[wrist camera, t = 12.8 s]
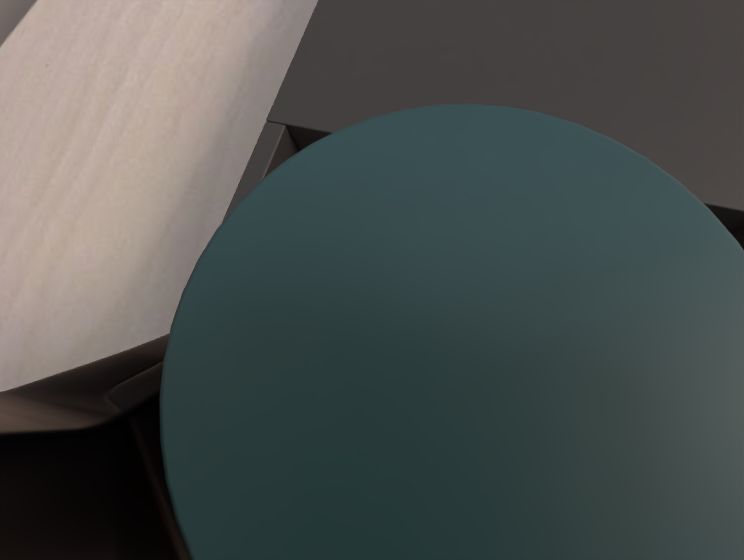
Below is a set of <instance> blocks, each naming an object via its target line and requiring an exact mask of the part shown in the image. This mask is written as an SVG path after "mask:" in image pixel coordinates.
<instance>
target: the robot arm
mask: <svg viewBox="0 0 744 560" xmlns="http://www.w3.org/2000/svg"><path fill="white" fill-rule="evenodd" d="M168 338H169V334H167V335H165V336H162V337H160V338H157V339H155V340H152V341H150V342H147V343H145V344H142V345H139V346H137V347H134V348H131V349H129V350H126V351H123V352H120V353H118V354H115V355H112V356H109V357H106V358H103V359H100V360H97V361H95V362H92V363H89V364H86V365H83V366H80V367H77V368H74V369H71V370H68V371H65V372H62V373H59V374H56V375H53V376H50V377H47V378H44V379H41V380H38V381H35V382H32V383H29V384H26V385H23V386H20V387H17V388H14V389H10V390H7V391H3V392H0V560H191V557H190V555H189V552H188V550H187V547H186V545H185V542H184V540H183V537H182V535H181V532H180V530H179V527H178V525H177V522H176V518H175V515H174V511H173V507H172V503H171V499H170V495H169V491H168V488H167V484H166V479H165V472H164V465H163V457H162V450H161V442H160V390H161V380H162V370H163V361H164V356H165V352H166V347H167V343H168Z"/></svg>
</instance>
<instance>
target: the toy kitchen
mask: <svg viewBox="0 0 744 560" xmlns="http://www.w3.org/2000/svg"><path fill="white" fill-rule="evenodd" d="M438 104H485V105H498V106H508V107H514V108H519V109H524V110H530V111H535V112H540V113H544V114H548V115H551V116H554V117H557V118H561V119H564V120H567V121H571V122H574V123H577V124H580V125H582V126H584V127H587V128H589V129H591V130H594V131H596V132H598V133H601V134H603V135H605V136H608V137H610V138H612V139H614V140H616V141H618V142H619V143H621V144H623V145H625V146H627V147H628V148H630V149H632V150H634V151H635V152H637V153H639V154H641V155H643V156H644V157H646V158H647V159H649V160H650V161H652V162H653V163H654V164H656V165H657V166H659V167H660V168H661V169H663V170H664V171H665V172H667V173H668V174H670V175H671V176H672V177H674V178H675V179H677V180H678V181H679V182H680V183H681V184H683V185H684V186H685V187H686V188H687V189H688V190H689V191H690V192H691V193H692V194H694V195H695V196H696V197H697V198H698V199H699V200H700V201H701V202H702V203H703V204H705V205H706V206H707V207H708V208H709V209H710V210H711V211H712V213H713V214H714V215H715V216H716V217H717V218H718V219H719V221H720V222H721V223H722V224H723V225H724V226H725V227H726V229H727V230H728V231H729V232H730V233H731V234H732V235H733V237H734V238H735V239H736V240H737V241H738V243H739V244H740V246H741V247H742V249H743V250H744V0H318V3H317V5H316V7H315V9H314V12H313V14H312V16H311V19H310V21H309V23H308V26H307V28H306V30H305V32H304V35H303V37H302V39H301V42H300V44H299V46H298V48H297V51H296V53H295V55H294V58H293V60H292V62H291V65H290V67H289V69H288V71H287V74H286V76H285V78H284V81H283V83H282V85H281V87H280V90H279V92H278V94H277V97H276V99H275V101H274V104H273V106H272V108H271V110H270V113H269V115H268V117H267V122H266V123H265V125H264V127H263V130H262V132H261V134H260V137H259V139H258V141H257V144H256V146H255V148H254V150H253V153H252V155H251V157H250V160H249V162H248V164H247V166H246V169H245V171H244V173H243V176H242V178H241V180H240V183H239V185H238V187H237V189H236V192H235V194H234V196H233V199H232V201H231V203H230V206H229V208H228V210H227V212H226V215H225V217H224V219H223V221H224V220H225V219H226V218H227V216H228V215H229V214H230V213H231V211H232V210H233V209H234V208H235V206H236V205H237V204H238V203H239V202H240V201H241V200H242V199H243V198H244V197H245V196H246V195H247V194H248V193H249V192H250V191H251V190H252V189H253V188H254V187H255V186H256V185H257V184H258V183H259V182H260V181H261V180H262V179H263V178H265V177H266V176H267V175H268V174H269V173H271V172H272V171H273V170H274V169H276V168H277V167H278V166H279V165H281V164H282V163H283V162H284V161H286V160H287V159H289V158H290V157H292V156H293V155H295V154H296V153H298V152H300V151H301V150H303V149H304V148H306V147H307V146H309V145H310V144H312V143H314V142H316V141H318V140H320V139H322V138H324V137H326V136H328V135H330V134H332V133H334V132H336V131H338V130H340V129H342V128H345V127H347V126H350V125H353V124H355V123H358V122H361V121H364V120H366V119H369V118H372V117H375V116H379V115H383V114H387V113H391V112H395V111H399V110H403V109H409V108H416V107H424V106H431V105H438ZM222 223H223V222H222Z"/></svg>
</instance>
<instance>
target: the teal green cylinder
mask: <svg viewBox="0 0 744 560" xmlns="http://www.w3.org/2000/svg"><path fill="white" fill-rule="evenodd" d="M160 442H161V450H162V457H163V465H164V472H165V479H166V484H167V488H168V491H169V495H170V499H171V503H172V507H173V511H174V515H175V518H176V522H177V525H178V527H179V530H180V532H181V535H182V537H183V540H184V542H185V545H186V547H187V550H188V552H189V555H190V557H191V560H744V250H743V249H742V247H741V246H740V244H739V243H738V241H737V240H736V239H735V238H734V237H733V235H732V234H731V233H730V232H729V231H728V230H727V229H726V227H725V226H724V225H723V224H722V223H721V222H720V221H719V219H718V218H717V217H716V216H715V215H714V214H713V213H712V211H711V210H710V209H709V208H708V207H707V206H706V205H705V204H703V203H702V202H701V201H700V200H699V199H698V198H697V197H696V196H695V195H694V194H692V193H691V192H690V191H689V190H688V189H687V188H686V187H685V186H684V185H683V184H681V183H680V182H679V181H678V180H677V179H675V178H674V177H672V176H671V175H670V174H668V173H667V172H665V171H664V170H663V169H661V168H660V167H659V166H657V165H656V164H654V163H653V162H652V161H650V160H649V159H647V158H646V157H644V156H643V155H641V154H639V153H637V152H635V151H634V150H632V149H630V148H628V147H627V146H625V145H623V144H621V143H619V142H618V141H616V140H614V139H612V138H610V137H608V136H605V135H603V134H601V133H598V132H596V131H594V130H591V129H589V128H587V127H584V126H582V125H580V124H577V123H574V122H571V121H567V120H564V119H561V118H557V117H554V116H551V115H548V114H544V113H540V112H535V111H530V110H524V109H519V108H514V107H508V106H498V105H485V104H438V105H431V106H424V107H416V108H409V109H403V110H399V111H395V112H391V113H387V114H383V115H379V116H375V117H372V118H369V119H366V120H364V121H361V122H358V123H355V124H353V125H350V126H347V127H345V128H342V129H340V130H338V131H336V132H334V133H332V134H330V135H328V136H326V137H324V138H322V139H320V140H318V141H316V142H314V143H312V144H310V145H309V146H307V147H306V148H304V149H303V150H301V151H300V152H298V153H296V154H295V155H293V156H292V157H290V158H289V159H287V160H286V161H284V162H283V163H282V164H281V165H279V166H278V167H277V168H276V169H274V170H273V171H272V172H271V173H269V174H268V175H267V176H266V177H265V178H263V179H262V180H261V181H260V182H259V183H258V184H257V185H256V186H255V187H254V188H253V189H252V190H251V191H250V192H249V193H248V194H247V195H246V196H245V197H244V198H243V199H242V200H241V201H240V202H239V203H238V204H237V205H236V206H235V208H234V209H233V210H232V211H231V213H230V214H229V215H228V216H227V218H226V219H225V220H224V221H223V223H222V224H221V225H220V227H219V228H218V229H217V230H216V232H215V233H214V235H213V237H212V238H211V240H210V241H209V243H208V245H207V246H206V248H205V249H204V251H203V253H202V254H201V256H200V258H199V259H198V261H197V263H196V265H195V267H194V269H193V272H192V274H191V276H190V278H189V280H188V282H187V284H186V286H185V288H184V290H183V293H182V296H181V299H180V302H179V305H178V308H177V310H176V313H175V316H174V319H173V322H172V325H171V329H170V334H169V338H168V343H167V347H166V352H165V356H164V361H163V370H162V380H161V390H160Z"/></svg>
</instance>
